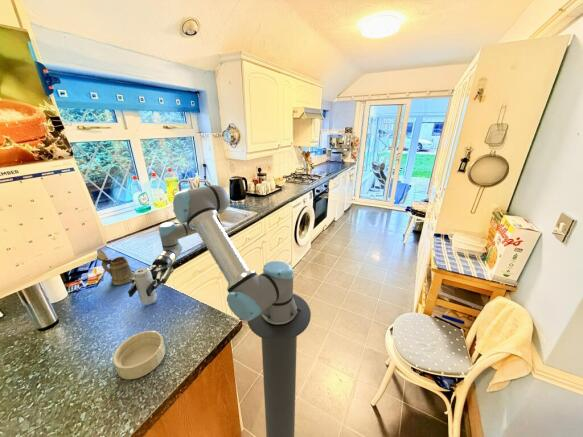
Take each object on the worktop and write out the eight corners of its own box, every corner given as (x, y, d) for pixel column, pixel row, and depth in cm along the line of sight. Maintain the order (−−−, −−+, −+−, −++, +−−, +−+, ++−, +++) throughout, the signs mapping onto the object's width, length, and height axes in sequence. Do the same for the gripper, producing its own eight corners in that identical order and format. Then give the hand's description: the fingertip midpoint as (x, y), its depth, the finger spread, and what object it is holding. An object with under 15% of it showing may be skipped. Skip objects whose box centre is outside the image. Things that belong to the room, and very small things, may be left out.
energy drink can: (154, 304, 97) (147, 274, 92) (138, 306, 96) (129, 276, 90) (159, 295, 103) (152, 266, 97) (144, 297, 101) (136, 267, 96)
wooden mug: (106, 276, 116) (95, 244, 109) (137, 273, 119) (128, 241, 113) (97, 288, 108) (85, 254, 101) (130, 283, 111) (121, 250, 105)
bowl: (171, 340, 82) (168, 328, 80) (157, 377, 70) (153, 364, 68) (130, 345, 80) (126, 333, 78) (108, 384, 68) (103, 371, 66)
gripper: (185, 267, 115) (165, 300, 94) (145, 269, 114) (115, 302, 92) (183, 254, 112) (162, 284, 91) (141, 255, 111) (110, 286, 89)
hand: (138, 293), depth 92 cm, fingers closed on energy drink can, 6 cm apart
